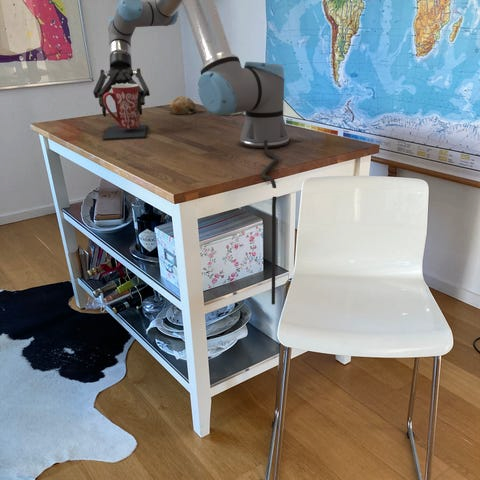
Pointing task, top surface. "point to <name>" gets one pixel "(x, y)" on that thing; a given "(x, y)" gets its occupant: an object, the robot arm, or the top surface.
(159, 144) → the top surface
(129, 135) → the mat
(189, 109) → the bread roll
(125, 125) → the mug
